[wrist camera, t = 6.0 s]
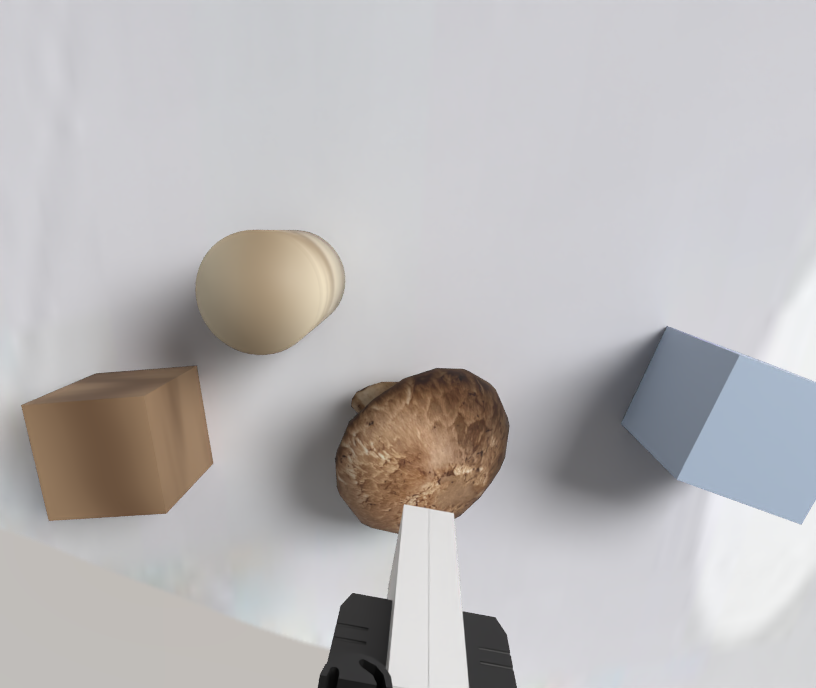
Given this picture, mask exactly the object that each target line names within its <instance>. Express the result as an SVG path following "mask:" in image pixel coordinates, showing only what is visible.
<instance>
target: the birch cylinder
mask: <svg viewBox="0 0 816 688" xmlns="http://www.w3.org/2000/svg"><path fill="white" fill-rule="evenodd" d="M344 289H345V273H344V268H343V265H342V262H341V260H340V258H339V256H338V254H337V253H336V251H335V250H334V249H333V247H332V246H331V245H330V244H329V243H328V242H326V241H325V240H324V239H322V238H321V237H319V236H317V235H315V234H312V233H310V232H306V231H299V230H246V231H240V232H237V233H233V234H231V235H229V236H227V237H225V238H223V239H222V240H220V241H219V242H217V243H216V244H215V245H214V246H213V247H212V248H211V249H210V250H209V251H208V252H207V254H206V255H205V257H204V258H203V260H202V262H201V264H200V267H199V270H198V273H197V278H196V288H195V292H196V300H197V305H198V308H199V311H200V314H201V316H202V318H203V320H204V322H205V323H206V325H207V326H208V328H209V329H210V330H211V331H212V333H213V334H214V335H215V336H216V337H217V338H219V339H220V340H221V341H222V342H224V343H225V344H226V345H228V346H230V347H232V348H234V349H236V350H238V351H241V352H244V353H248V354H255V355H267V354H274V353H277V352H281V351H283V350H286V349H288V348H290V347H291V346H293V345H295V344H296V343H297V342H298V341H300V340H301V339H302V338H303V337H304V336H306V335H307V334H308V333H309V332H310V331H312V330H313V329H314V328H315V327H316V326H318V325H319V324H320V323H321V322H322V321H324V320H325V319H326V318H327V317H328V316H329V315H331V314H332V313H333V312H334V310H335V309H336V308H337V306H338V305H339V303H340V301H341V299H342V296H343V293H344Z"/></svg>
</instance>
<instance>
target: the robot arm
mask: <svg viewBox="0 0 816 688" xmlns="http://www.w3.org/2000/svg"><path fill="white" fill-rule="evenodd" d="M318 688H517V686H516V681H515V676H514V671H513V665H512V660H511V656H510V650H509V644H508V639H507V634H506V633H505V631H504V630H503V628H502V627H501V625H500V624H499V622H498V621H497V619H496V618H495V617H490V616H485V615H479V614H474V613H468V612H463V611H462V601H461V589H460V578H459V566H458V555H457V543H456V532H455V520H454V513H450V512H444V511H439V510H433V509H428V508H422V507H416V506H411V505H405V504H404V507H403V512H402V518H401V523H400V528H399V533H398V539H397V544H396V549H395V554H394V560H393V565H392V570H391V575H390V581H389V587H388V595H387V599H383V598H377V597H372V596H366V595H361V594H355V593H352V594H351V595H350V596H349V597H348V598H347V600H346V601H345V602H344V603H343V604H342V605H341V607H340V611H339V615H338V619H337V624H336V628H335V632H334V636H333V641H332V645H331V649H330V653H329V658H328V662H327V664H325V666H324V668H323V670H322V672H321V674H320V678H319V684H318Z"/></svg>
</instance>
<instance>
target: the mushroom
mask: <svg viewBox="0 0 816 688" xmlns="http://www.w3.org/2000/svg"><path fill="white" fill-rule="evenodd" d="M351 407H352V408H353V409H354V410H355V411H356V412H357V413H358V414H357V415H356V416H355V417H354V418H353V419H352V420H350V421H349V424H348V426H347V429H346V431H345V433H344V436H343V438H342V440H341V443H340V445H339V448H338V450H337V453H336V458H335V462H336V479H337V489H338V491H339V494H340V496H341V497H342V499H343V500H344V501H345V502H346V504H347V505H348V506H349V508H350V509H351V510H352V512H353V513H354V514H355V515H356V517H357V518H358V519H359V520H360V521H361V523H363V524H365V525H367V526H369V527H371V528H375V529H379V530H384V531H388V532H392V533H397V534H398V533H399V528H400V523H401V518H402V512H403V507H404V504H405V505H411V506H416V507H422V508H428V509H433V510H439V511H444V512H450V513H454V519H455V518H457V517H459V516H460V515H462V514H463V513H464V512H465V511H466V510H467V509H468V508H469V507H470V506H471V505H472V504H473V503H474V502H475V501H477V500H478V499H479V498H480V497H481V495H482V494H483V493H484V491H485V490H486V489H487V487H488V486H489V485H490V484H491V482H492V481H493V479H494V478H495V476H496V474H497V473H498V471H499V470H500V468H501V465H502V463H503V461H504V458H505V454H506V447H507V439H508V432H509V421H508V417H507V415H506V413H505V410H504V408H503V405H502V403H501V401H500V398H499V396H498V394H497V392H496V389H495V388H494V387H493V386H492V385H491V384H490V383H488V382H487V381H485V380H483V379H481V378H480V377H478V376H476V375H474V374H473V373H471V372H469V371H467V370H465V369H447V368H436V369H432V370H429V371H426V372H423V373H420V374H417V375H414V376H411V377H407V378H404V379H402V380H401V381H399V382H380V383H377V384H374V385H371V386H368V387H366V388H364V389H362V390H360V391H358V392H356V394H355V395H354V397H353V398H352V403H351Z"/></svg>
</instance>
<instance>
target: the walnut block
mask: <svg viewBox="0 0 816 688" xmlns="http://www.w3.org/2000/svg"><path fill="white" fill-rule="evenodd" d="M21 406H22V410H23V414H24V419H25V423H26V427H27V431H28V435H29V440H30V444H31V448H32V452H33V456H34V461H35V465H36V469H37V473H38V477H39V482H40V486H41V490H42V494H43V498H44V503H45V507H46V511H47V515H48V519H49V521H54V520H70V519H86V518H102V517H118V516H134V515H150V514H166V513H167V512H168V511H169V510H170V509H171V508H172V507H173V506H174V505H175V504H176V503H177V502H178V500H179V499H180V498H181V497H182V496H183V495H184V494H185V493H186V492H187V491H188V490H189V489H190V488H191V487H192V486H193V484H194V483H195V482H196V481H197V480H198V479H199V478H200V477H201V476H202V475H203V474H204V473H205V472H206V471H207V469H208V468H209V467H210V466H211V465H212V464H213V459H212V453H211V447H210V441H209V435H208V429H207V424H206V418H205V412H204V406H203V400H202V394H201V388H200V382H199V376H198V370H197V366H186V367H173V368H160V369H147V370H135V371H122V372H109V373H96V374H94V375H91V376H89V377H86V378H84V379H82V380H79V381H77V382H75V383H72V384H70V385H68V386H65V387H63V388H61V389H58V390H56V391H54V392H51V393H49V394H47V395H44V396H42V397H39V398H37V399H35V400H32V401H30V402H28V403H25V404H23V405H21Z"/></svg>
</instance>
